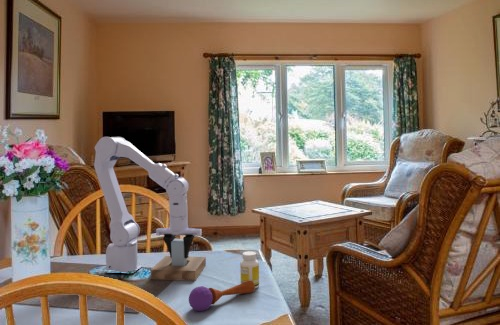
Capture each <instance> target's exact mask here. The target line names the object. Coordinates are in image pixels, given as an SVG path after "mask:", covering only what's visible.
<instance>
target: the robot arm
mask: <svg viewBox="0 0 500 325" xmlns="http://www.w3.org/2000/svg"><path fill="white" fill-rule="evenodd" d="M94 150H95V156H94V164H93V167H94V170H95V173H96V176H97V179H98V182H99V185H100V188H101V192H102V194H103V197H104V200H105V203H106V206H107V210H108V212H109V215H110V218H111V219H110V222H109V230H110V234H109V237H110V241H111V243H109V244H108V245H107V247H106V250H105V265H106V267H105V269H106V270H115V271H120V272H128V271H133V270H138V269H139V270H140V269H142V267H143V265H142V264H139V263H138V257H139V256H138V240H137V239H138V236H139V235H140V231H141V228H140V225H139V224H138V223H137V222H136V221H135V219H134V216H133V215H132V214H131V213H129V211H128V208H127V205H126V202H125V199H124V197H123V193H122V191H121V188H120V184H119V180H118V179H117V175H116V172H115V170H114V166H115V165H116V163H117V162H118V159H120V158H127V159H130V160H131V161H132V162H134V163H135V164H136V165H138V166H140V167H141V168H143V169H144V170H145V171H147V172H148V177H149V178H150V179H151V180H152V181H153V182H155V183H156V184H158V185H159V186H160V187H162V188H163V189H165V192H166V194H167V195H168V197H169V200H168V201H169V202H168V204H169V205H168V208H169V210H168V211H169V227H162V228H161V227H160V228H155V236H163V237H162V240H163V241H164V243H165V245H166V247H167V249H168V252H169V256H170V257H171V258H172V255H171V242H172V241H173V240H174V239H176V238H175V237H176V236H183V238H182V239H183V241H184V257H185V258H188V257H189V253H190V248H191V245H192V242H193V241H194V238H195V236H197V237H201V236H202V235H203V234H202V231H203V230H202V228H194V227H189V222H188V219H189V218H188V216H189V215H188V213H189V212H188V191H189V189H190V184H189V181H188V180H186V178H185V177H183V176H179V174H178V173H174V172H173V171H172V170H171V169H169V168H168V165H167V164H166V163H162V162H161V163H160V162H158V163H155V162H153V160H152V159H150V158H149V157H148V156H147V155H146V154H144V153H143V152H141V150H139V149H138V148H137V147H136V146H135V145H133V143H131V142H130V141H128V140H126V139H125V138H124V137H122V136H111V137H110V136H103V137H101V138H100V139H99V140H98V141H97V142H96V144H95V146H94ZM110 267H111V268H110ZM139 270H138V271H139Z"/></svg>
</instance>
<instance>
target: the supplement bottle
mask: <svg viewBox="0 0 500 325" xmlns="http://www.w3.org/2000/svg"><path fill="white" fill-rule="evenodd" d="M239 265H240V269H239V270H240V284H242V283H245V282H247V281H252V282H253V283H254V286H255V289H257V288H259V286H260V264H259V261H258V260H257V253H256V252H255V251H252V250H251V251H249V250H248V251H244V252H242V260H241V261H240V264H239Z"/></svg>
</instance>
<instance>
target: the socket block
mask: <svg viewBox="0 0 500 325" xmlns="http://www.w3.org/2000/svg"><path fill="white" fill-rule="evenodd" d="M206 258H207V257H206V256H188V258H187V264H186V265H185V266H172V258H171V257H170V255H164V257H162V258H161V260H159V262H157V263H156V264H155V265H154V266H153V267H152V268H151V269H150V279H151V280H164V281H165V280H167V281H169V280H170V281H193V282H194V281H195V282H196V281H197V279H198V277H199V276H200V275H201V273H202V272H203V271H204V269H205V268H206V266H207V265H206V264H207V262H206V260H207V259H206Z"/></svg>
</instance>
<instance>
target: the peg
mask: <svg viewBox="0 0 500 325" xmlns="http://www.w3.org/2000/svg"><path fill="white" fill-rule="evenodd" d="M171 255H172V266H185V265H186V264H187V258H185V257H184V241H183V238H175V239H174V240H173V241H172V242H171Z"/></svg>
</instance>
